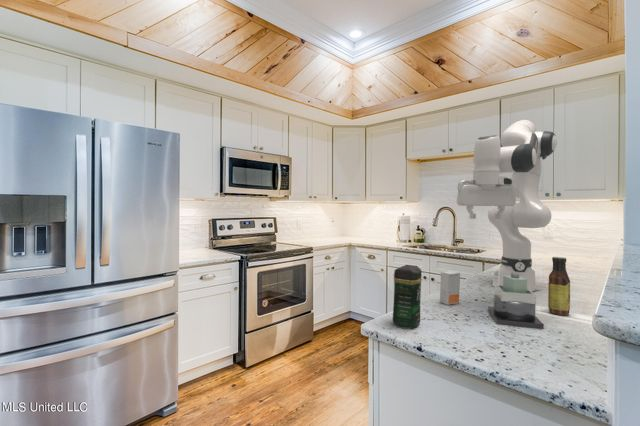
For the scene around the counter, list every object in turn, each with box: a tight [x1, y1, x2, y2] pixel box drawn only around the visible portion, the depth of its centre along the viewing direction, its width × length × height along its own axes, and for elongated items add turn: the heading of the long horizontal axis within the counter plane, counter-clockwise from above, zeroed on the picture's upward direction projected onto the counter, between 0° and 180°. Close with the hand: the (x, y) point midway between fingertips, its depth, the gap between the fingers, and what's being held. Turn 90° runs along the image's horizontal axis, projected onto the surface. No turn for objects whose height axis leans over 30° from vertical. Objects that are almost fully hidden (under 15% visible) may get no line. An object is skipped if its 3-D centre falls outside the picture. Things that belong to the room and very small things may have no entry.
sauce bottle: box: [547, 256, 571, 316], centre depth 115 cm, size 6×6×20 cm
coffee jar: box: [392, 264, 422, 329], centre depth 103 cm, size 10×8×19 cm
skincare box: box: [439, 270, 461, 306], centre depth 126 cm, size 6×4×12 cm
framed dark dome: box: [487, 285, 545, 330], centre depth 109 cm, size 14×13×10 cm
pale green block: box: [503, 272, 527, 293], centre depth 109 cm, size 6×4×8 cm
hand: (485, 218), depth 118 cm, fingers open, 8 cm apart
